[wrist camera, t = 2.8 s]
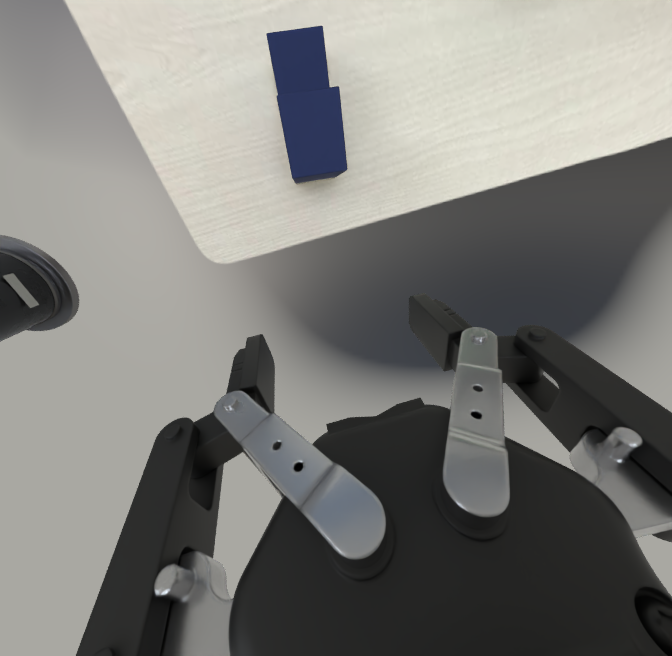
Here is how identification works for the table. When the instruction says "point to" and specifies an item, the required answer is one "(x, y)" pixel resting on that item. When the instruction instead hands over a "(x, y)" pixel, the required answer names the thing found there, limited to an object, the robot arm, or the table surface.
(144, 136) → the table surface
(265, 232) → the table surface
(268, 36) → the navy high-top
